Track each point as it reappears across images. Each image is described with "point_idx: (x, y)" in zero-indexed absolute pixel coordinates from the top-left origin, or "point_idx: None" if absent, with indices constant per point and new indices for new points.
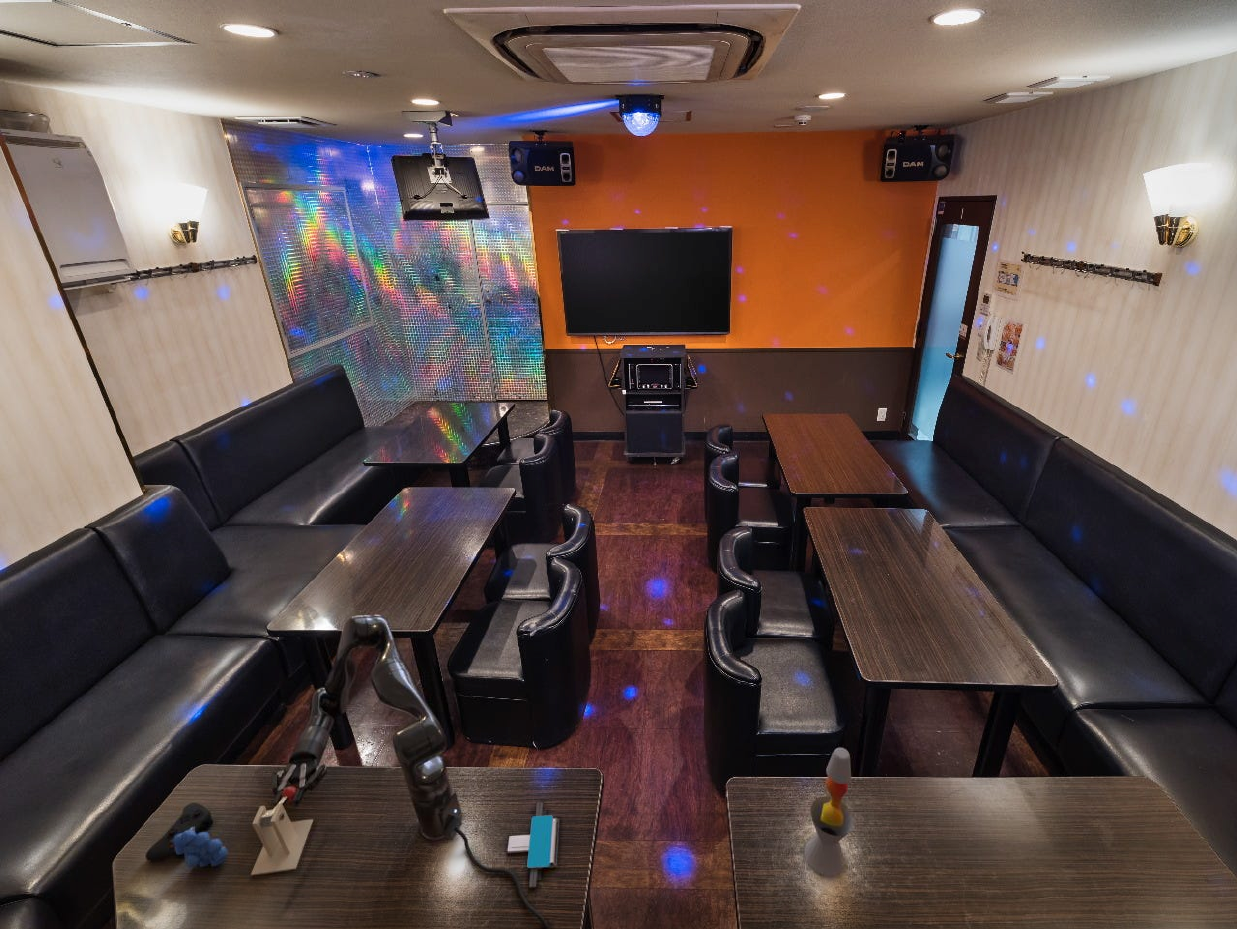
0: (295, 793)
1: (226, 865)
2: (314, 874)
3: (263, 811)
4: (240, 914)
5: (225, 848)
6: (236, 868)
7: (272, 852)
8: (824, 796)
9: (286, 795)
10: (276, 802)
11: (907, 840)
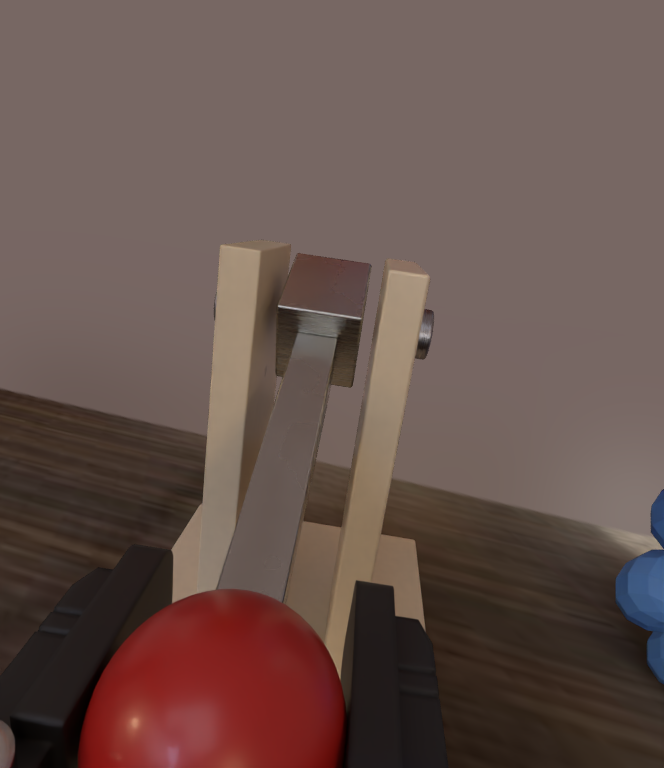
0: (113, 631)
1: (618, 670)
2: (120, 504)
3: (383, 290)
4: (392, 486)
5: (654, 592)
6: (536, 636)
7: (334, 569)
8: None
9: (244, 589)
10: (372, 587)
11: None
